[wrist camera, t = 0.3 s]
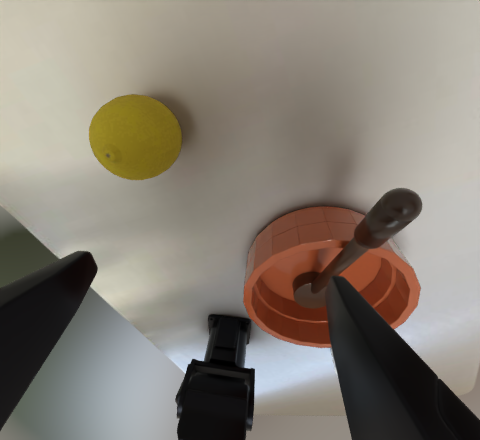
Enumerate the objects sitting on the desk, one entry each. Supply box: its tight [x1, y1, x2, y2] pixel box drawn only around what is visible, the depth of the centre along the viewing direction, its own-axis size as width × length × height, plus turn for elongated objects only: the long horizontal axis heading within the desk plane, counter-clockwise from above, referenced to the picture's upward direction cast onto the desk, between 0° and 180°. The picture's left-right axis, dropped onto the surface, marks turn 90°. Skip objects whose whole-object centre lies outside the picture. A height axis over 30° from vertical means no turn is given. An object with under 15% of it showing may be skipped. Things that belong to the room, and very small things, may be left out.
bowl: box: [243, 206, 421, 348], centre depth 24 cm, size 16×16×6 cm
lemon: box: [89, 94, 182, 180], centre depth 16 cm, size 6×6×8 cm
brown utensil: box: [293, 188, 422, 309], centre depth 19 cm, size 19×4×10 cm, turn 179°
